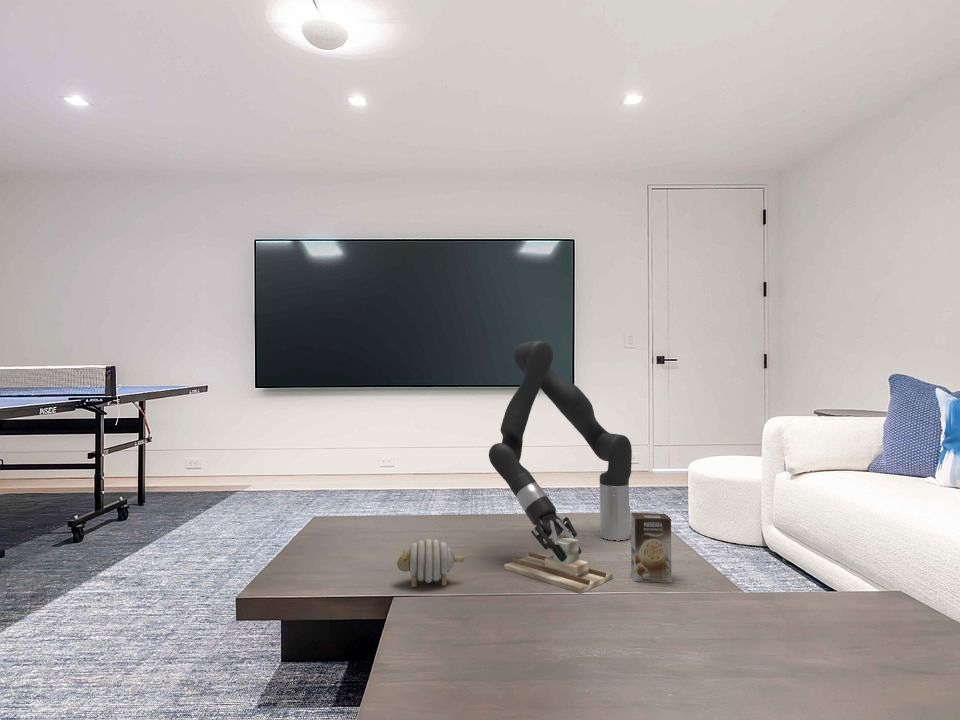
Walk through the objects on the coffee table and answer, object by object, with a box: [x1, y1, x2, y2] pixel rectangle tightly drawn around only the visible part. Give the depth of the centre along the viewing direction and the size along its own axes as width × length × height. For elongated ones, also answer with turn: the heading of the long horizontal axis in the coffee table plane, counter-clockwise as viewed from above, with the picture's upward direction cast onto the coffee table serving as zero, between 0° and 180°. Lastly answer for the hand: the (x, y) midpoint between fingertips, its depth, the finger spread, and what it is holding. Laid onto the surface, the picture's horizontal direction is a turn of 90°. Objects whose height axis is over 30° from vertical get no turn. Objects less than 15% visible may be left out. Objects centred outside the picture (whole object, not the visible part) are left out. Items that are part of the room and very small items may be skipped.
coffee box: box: [630, 512, 673, 584], centre depth 147 cm, size 9×6×16 cm
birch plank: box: [503, 551, 614, 594], centre depth 150 cm, size 14×25×2 cm, turn 45°
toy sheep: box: [396, 538, 465, 588], centre depth 144 cm, size 11×17×11 cm, turn 100°
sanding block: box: [545, 536, 590, 577], centre depth 148 cm, size 6×10×8 cm, turn 45°
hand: (571, 556), depth 147 cm, fingers closed on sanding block, 5 cm apart
